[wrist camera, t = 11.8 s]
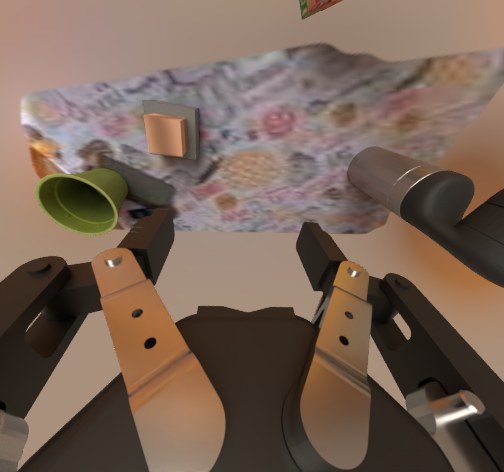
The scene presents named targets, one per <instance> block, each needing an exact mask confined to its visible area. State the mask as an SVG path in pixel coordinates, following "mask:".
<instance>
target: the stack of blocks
mask: <svg viewBox="0 0 504 472" xmlns="http://www.w3.org/2000/svg"><path fill="white" fill-rule="evenodd" d="M299 1H300V8H301V16H302V19H305V18H307V17H309V16H311V15H313V14H315V13H316V12H319V11H322V10H324V9H326V8H328V7H330V6H332V5H334V4H336V3H338V2H340V1H342V0H299Z"/></svg>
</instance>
